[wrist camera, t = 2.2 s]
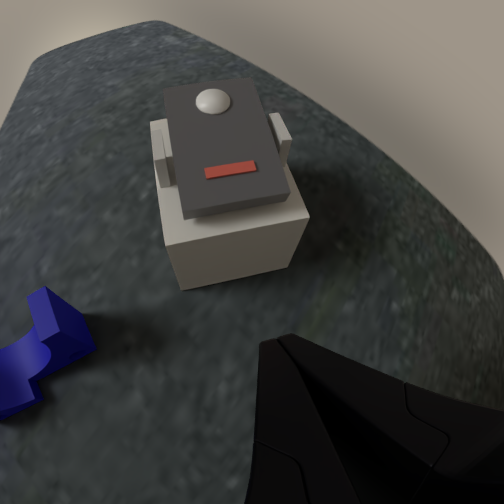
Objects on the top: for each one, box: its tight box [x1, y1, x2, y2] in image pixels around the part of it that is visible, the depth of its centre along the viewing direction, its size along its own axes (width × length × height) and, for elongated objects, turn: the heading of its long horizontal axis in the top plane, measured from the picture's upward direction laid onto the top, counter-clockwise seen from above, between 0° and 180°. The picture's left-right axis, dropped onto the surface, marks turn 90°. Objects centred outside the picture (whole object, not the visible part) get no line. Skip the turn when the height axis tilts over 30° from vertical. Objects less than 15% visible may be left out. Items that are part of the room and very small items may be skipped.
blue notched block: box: [0, 286, 97, 421], centre depth 16 cm, size 12×4×6 cm, turn 122°
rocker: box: [163, 77, 291, 220], centre depth 17 cm, size 8×6×1 cm, turn 14°
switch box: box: [150, 113, 310, 291], centre depth 21 cm, size 10×8×9 cm
